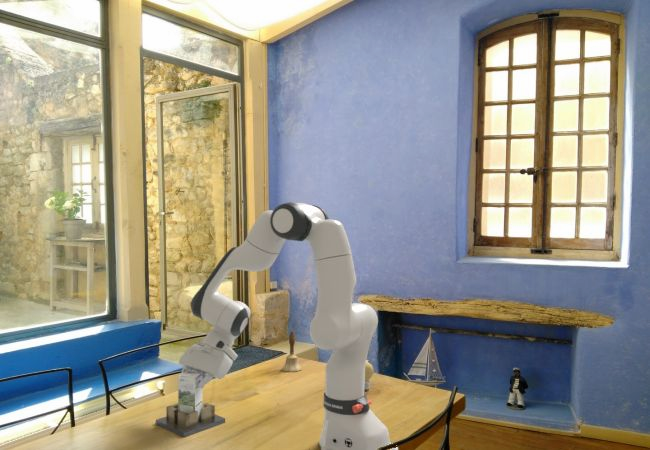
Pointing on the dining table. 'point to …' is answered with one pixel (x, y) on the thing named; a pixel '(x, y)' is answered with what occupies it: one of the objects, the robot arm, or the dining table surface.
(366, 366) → the light bulb
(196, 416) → the metal jaw fixture
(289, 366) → the hand bell
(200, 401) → the syrup box
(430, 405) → the dining table surface
